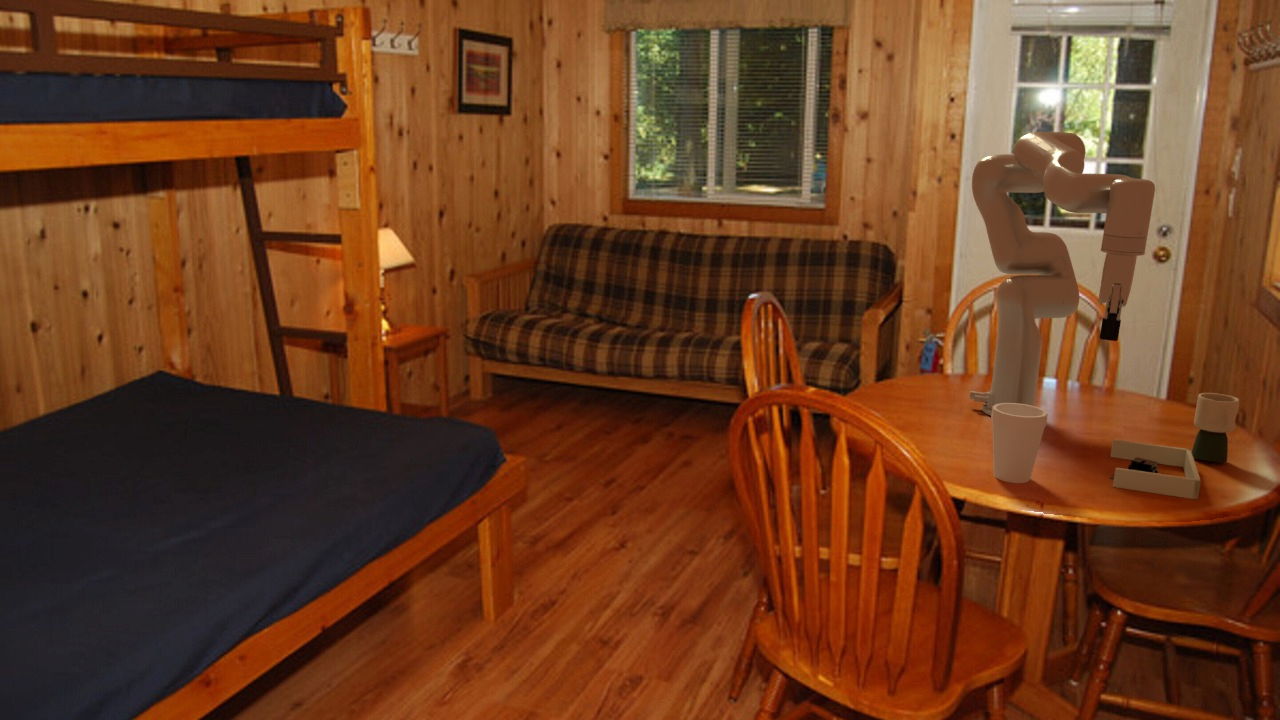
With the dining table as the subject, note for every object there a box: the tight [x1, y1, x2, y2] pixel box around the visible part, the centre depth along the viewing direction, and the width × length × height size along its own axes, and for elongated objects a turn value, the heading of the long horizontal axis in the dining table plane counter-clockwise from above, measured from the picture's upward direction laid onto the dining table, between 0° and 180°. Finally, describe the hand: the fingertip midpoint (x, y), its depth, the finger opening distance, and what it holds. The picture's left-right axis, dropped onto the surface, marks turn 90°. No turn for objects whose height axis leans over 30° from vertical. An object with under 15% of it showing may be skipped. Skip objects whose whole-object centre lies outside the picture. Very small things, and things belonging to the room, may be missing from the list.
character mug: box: [1191, 392, 1240, 464], centre depth 195 cm, size 11×7×13 cm, turn 178°
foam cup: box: [990, 403, 1049, 484], centre depth 183 cm, size 10×9×13 cm
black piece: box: [1108, 457, 1159, 481], centre depth 184 cm, size 12×7×5 cm, turn 46°
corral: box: [1110, 438, 1202, 500], centre depth 186 cm, size 14×20×4 cm
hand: (1108, 339), depth 192 cm, fingers closed
